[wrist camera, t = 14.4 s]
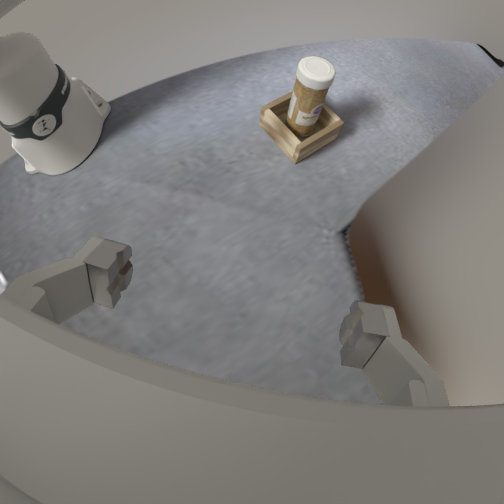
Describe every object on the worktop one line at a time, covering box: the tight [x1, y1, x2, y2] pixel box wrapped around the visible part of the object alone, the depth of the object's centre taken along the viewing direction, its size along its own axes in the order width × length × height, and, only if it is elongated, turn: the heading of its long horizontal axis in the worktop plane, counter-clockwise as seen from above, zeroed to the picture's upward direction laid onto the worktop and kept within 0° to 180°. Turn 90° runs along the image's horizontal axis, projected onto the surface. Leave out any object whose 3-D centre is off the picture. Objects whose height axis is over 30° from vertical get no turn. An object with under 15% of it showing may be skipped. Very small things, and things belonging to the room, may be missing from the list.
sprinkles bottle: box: [285, 56, 336, 138], centre depth 37 cm, size 5×5×14 cm
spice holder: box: [259, 91, 344, 164], centre depth 42 cm, size 9×9×4 cm
